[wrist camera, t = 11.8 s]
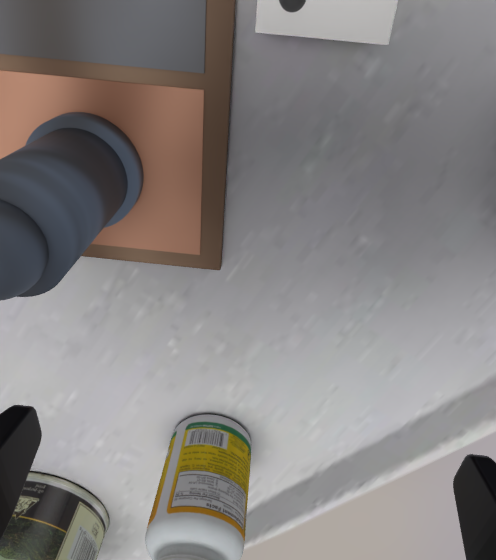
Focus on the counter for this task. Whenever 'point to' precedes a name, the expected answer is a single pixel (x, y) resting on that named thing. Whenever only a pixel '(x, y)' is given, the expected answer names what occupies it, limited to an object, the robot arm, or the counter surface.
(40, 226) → the pawn
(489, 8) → the counter surface
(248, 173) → the counter surface
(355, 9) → the white die
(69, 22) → the game board
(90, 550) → the coffee can
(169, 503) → the supplement bottle
